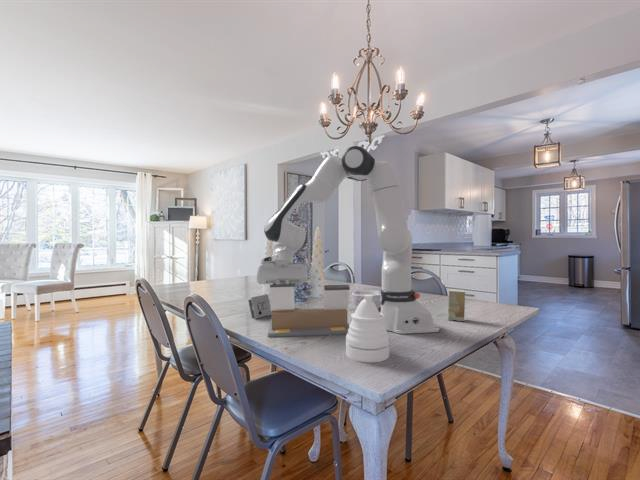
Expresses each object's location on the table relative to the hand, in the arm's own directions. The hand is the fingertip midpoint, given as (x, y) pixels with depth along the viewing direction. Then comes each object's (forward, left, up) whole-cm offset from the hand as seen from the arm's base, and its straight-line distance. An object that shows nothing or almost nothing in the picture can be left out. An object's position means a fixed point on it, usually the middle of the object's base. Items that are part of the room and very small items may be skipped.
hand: (282, 290), depth 128 cm
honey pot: (-31, +27, -14) cm, 43 cm away
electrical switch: (+13, -16, -14) cm, 25 cm away
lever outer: (-1, +4, -7) cm, 8 cm away
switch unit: (-11, +3, -14) cm, 18 cm away
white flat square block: (-20, +1, -7) cm, 22 cm away
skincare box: (-70, -13, -14) cm, 72 cm away
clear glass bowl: (-35, -31, -14) cm, 49 cm away
